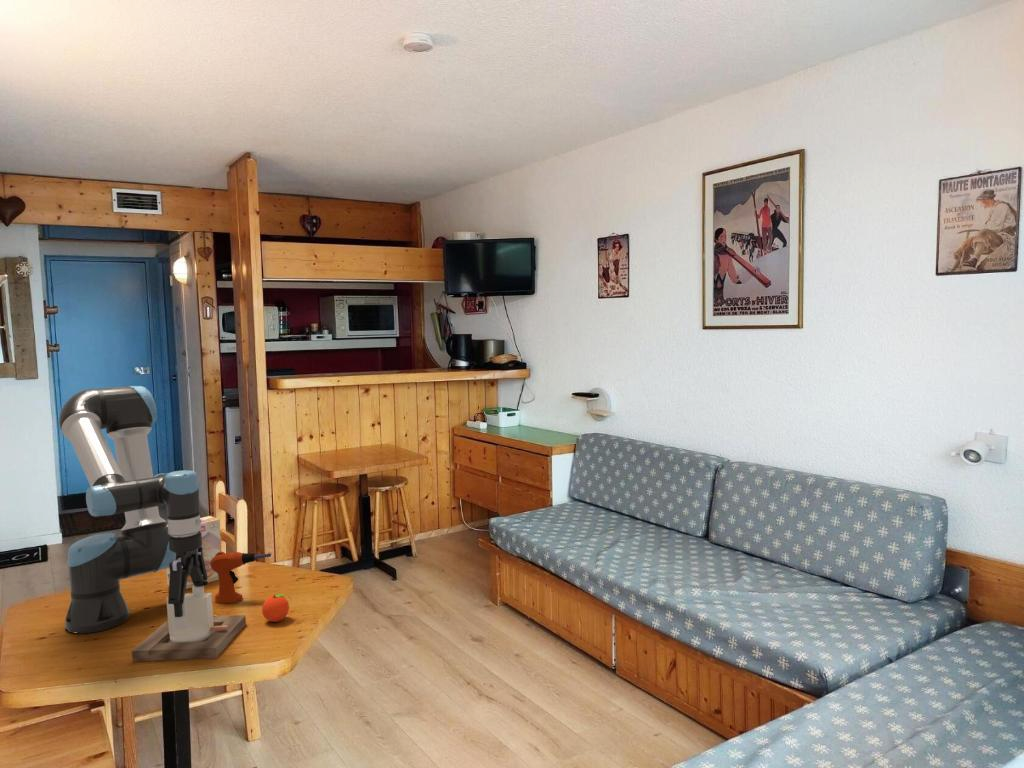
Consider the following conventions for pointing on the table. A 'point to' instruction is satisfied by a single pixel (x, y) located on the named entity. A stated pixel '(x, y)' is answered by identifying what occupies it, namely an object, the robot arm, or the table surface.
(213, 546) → the coffeecake box
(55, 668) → the table surface
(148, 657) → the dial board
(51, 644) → the table surface
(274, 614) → the clementine
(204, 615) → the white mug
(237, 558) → the toy drill
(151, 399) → the robot arm
